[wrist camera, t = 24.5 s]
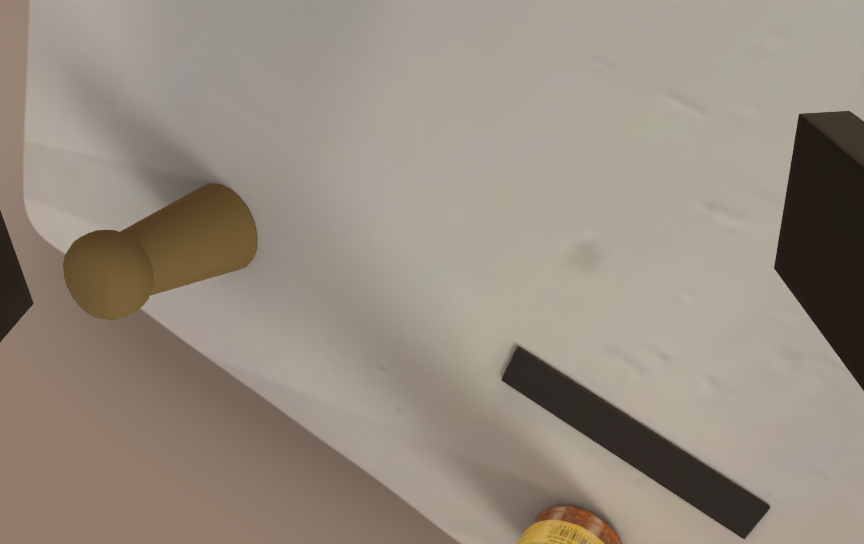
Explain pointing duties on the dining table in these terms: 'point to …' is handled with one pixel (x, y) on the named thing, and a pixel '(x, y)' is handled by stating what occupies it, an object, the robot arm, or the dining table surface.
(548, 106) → the dining table surface
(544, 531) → the sauce bottle
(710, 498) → the strip
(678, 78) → the dining table surface
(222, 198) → the brown pawn
